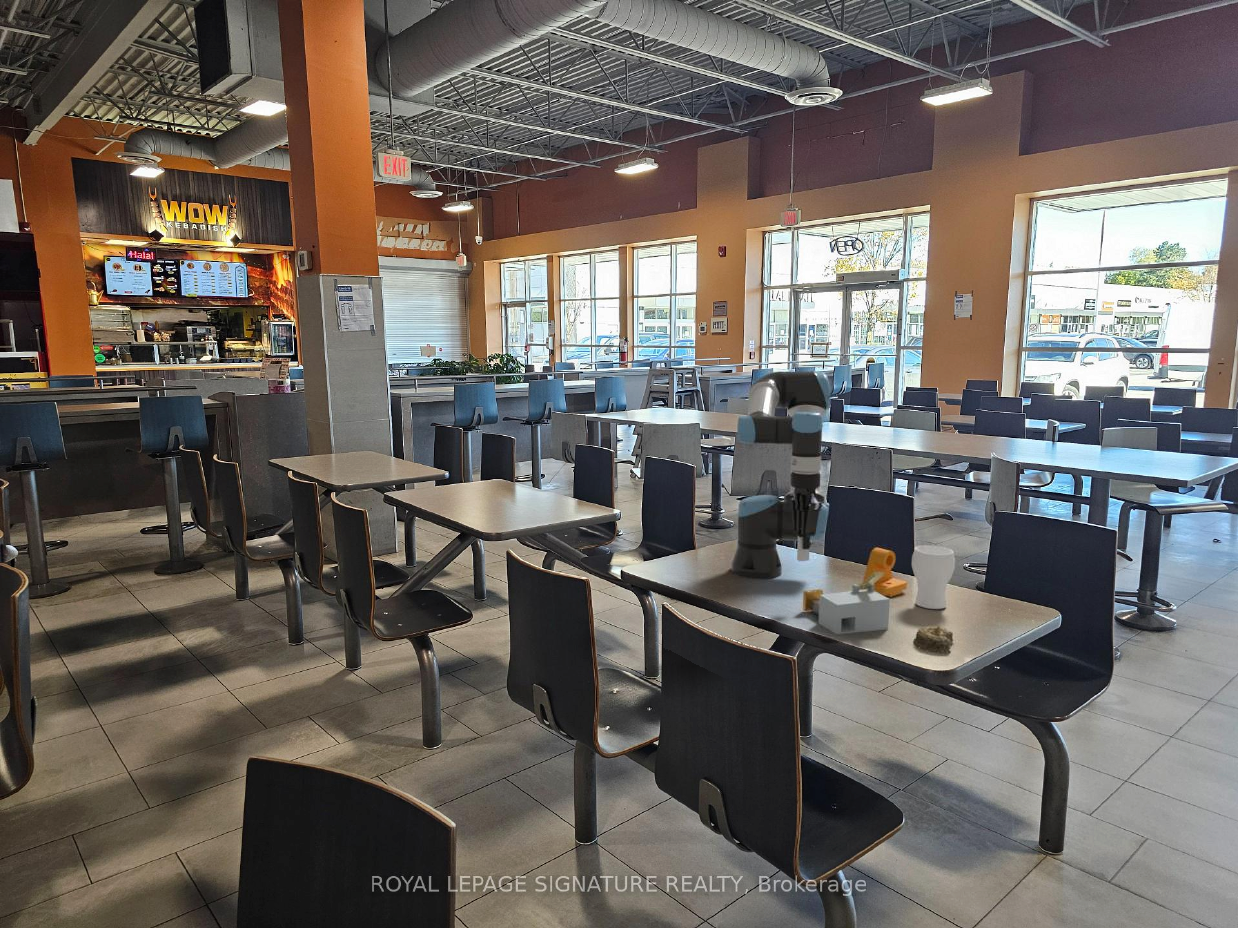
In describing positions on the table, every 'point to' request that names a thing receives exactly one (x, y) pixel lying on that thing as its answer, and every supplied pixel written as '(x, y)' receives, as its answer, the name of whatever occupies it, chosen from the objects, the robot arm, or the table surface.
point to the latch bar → (870, 580)
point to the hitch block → (854, 611)
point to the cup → (932, 574)
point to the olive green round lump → (934, 639)
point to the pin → (811, 600)
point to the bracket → (884, 563)
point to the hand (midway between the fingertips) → (803, 560)
